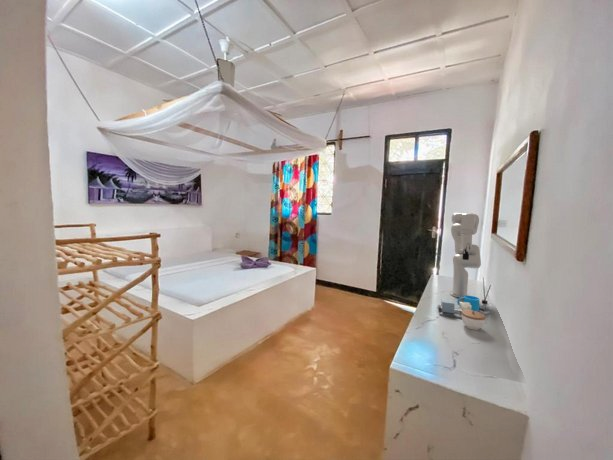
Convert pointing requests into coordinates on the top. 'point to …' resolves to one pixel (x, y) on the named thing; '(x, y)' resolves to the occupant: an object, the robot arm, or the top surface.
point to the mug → (471, 302)
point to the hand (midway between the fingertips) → (465, 259)
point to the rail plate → (455, 315)
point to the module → (447, 305)
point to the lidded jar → (473, 319)
